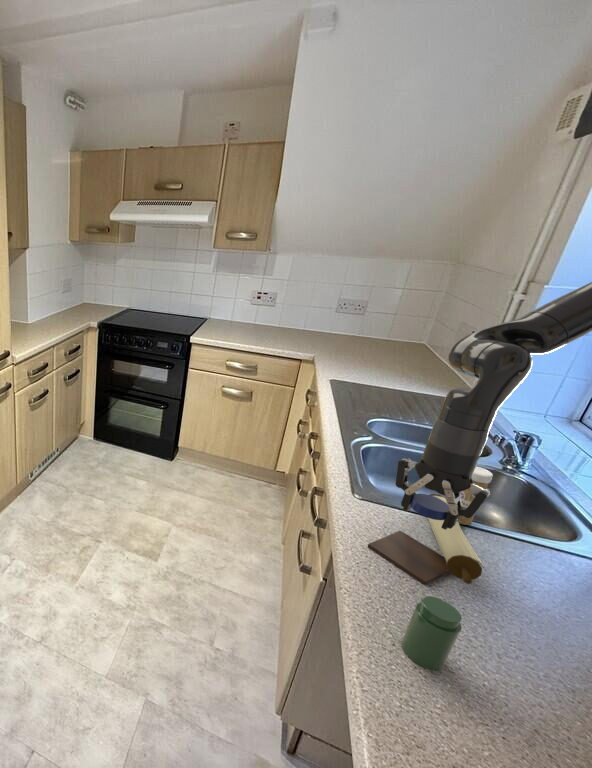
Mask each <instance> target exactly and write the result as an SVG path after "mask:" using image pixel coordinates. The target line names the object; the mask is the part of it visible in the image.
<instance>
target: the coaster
mask: <svg viewBox="0 0 592 768" xmlns="http://www.w3.org/2000/svg"><path fill="white" fill-rule="evenodd" d="M367 548H368V549H370V551H373V552H374V553H376V554H377V555H379V556H380V557H381V558H383V559H384V560H386V561H387V562H389V563H391V564H392V565H394V566H395V567H397V568H398V569H400V570H401V571H403V572H404V573H405V574H407V575H409V576H410V577H411V578H413V579H414V580H416V581H418V582H419V583H421V584H422V585H423V586H427V585H429V584H430V583H433V582H434V581H436V580H438V579H440V578H441V577H444V576H445V575H447V574H449V573H450V572H449V570H448V568H447V562H446V559H445V557H444V555H443V554H440V553H439V552H437V551H435V550H434V549H432V548H430V547H429V546H427V545H426V544H424V543H422V542H420V541H418V540H417V539H415V538H414V537H412V536H410V535H409V534H408V533H405V532H404V531H402V530H398V531H396V532H394V533H391V534H388V535H386V536H384V537H381V538H378V539H377V540H373V541H371V542H369V543H368V544H367Z"/></svg>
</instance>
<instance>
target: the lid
mask: <svg viewBox="0 0 592 768" xmlns="http://www.w3.org/2000/svg"><path fill="white" fill-rule="evenodd" d="M410 506H411V509H412V510H413V511H414V512H416V513H417V514H419V515H420V516H422V517H425V518H427V519H428V518H430V519H434V520H445V517H446V515H447V513H448V512H449V511H450V510H449V505H448V504H447V503H446V502H444V501H443V500H441V499H439V498H436V497H434V496H431V495H430V494H426V493H417V494H415V495H414V496H413V498H412V500H411V503H410Z"/></svg>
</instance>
